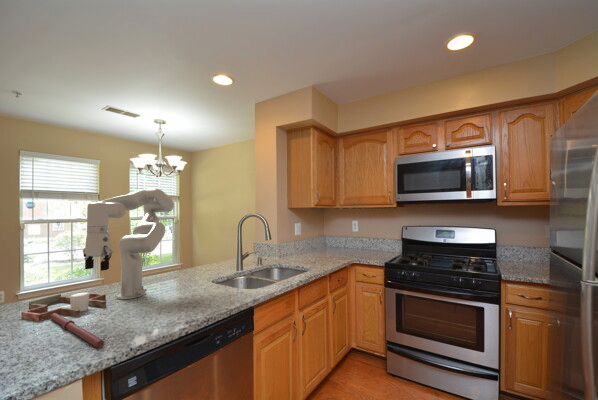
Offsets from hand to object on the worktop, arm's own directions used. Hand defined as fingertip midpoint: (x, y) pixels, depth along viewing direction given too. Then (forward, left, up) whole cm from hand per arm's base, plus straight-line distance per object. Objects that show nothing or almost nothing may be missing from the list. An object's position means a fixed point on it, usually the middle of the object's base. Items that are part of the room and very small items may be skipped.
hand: (96, 269), depth 116 cm
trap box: (+19, 0, -19) cm, 26 cm away
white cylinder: (+11, 0, -19) cm, 22 cm away
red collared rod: (-11, +16, -19) cm, 27 cm away
